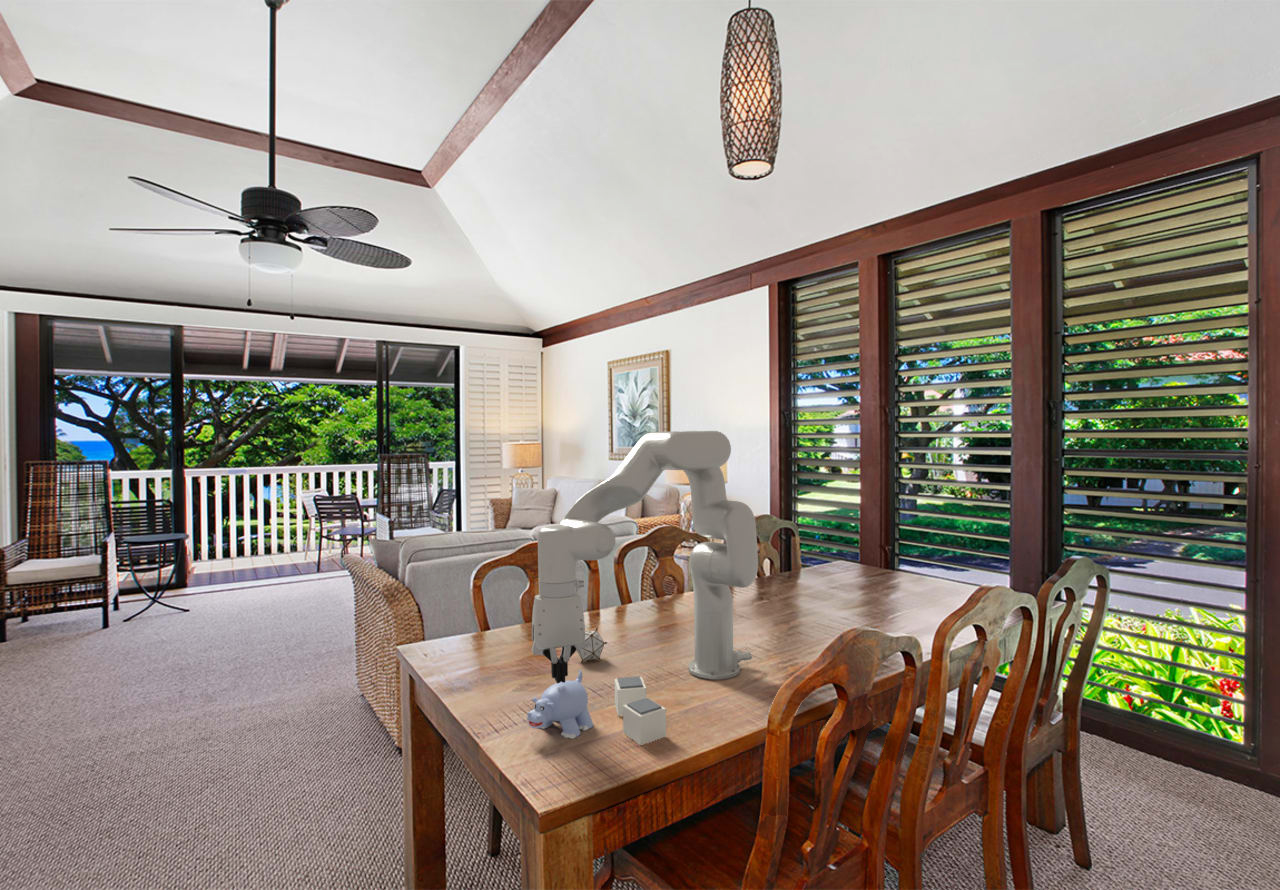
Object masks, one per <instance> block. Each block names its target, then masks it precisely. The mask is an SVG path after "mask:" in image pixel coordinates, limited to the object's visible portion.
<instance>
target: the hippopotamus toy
mask: <svg viewBox="0 0 1280 890" xmlns="http://www.w3.org/2000/svg"><path fill="white" fill-rule="evenodd" d="M578 672H579V673H578V675H577V677H576V679H575V680H565V682H564V683H562V682H560V683H557V682H556V683H554V684H551V685H550V686H549V687H547V689H545V690H544V692H543V693H542V694H541V696H540V699H539V698H537V697H536V696H535V697H533V698H532V701H531V702H533V703H535V704H534V705H533V708H534V709H532V710H530V711H529V712H527V715H526V719H527V724H528V725H529V727H531V728H532V729H534V730H535V729H536V730H537V729H543V730H545V729H548V728H549V727H551V726H552V725H553V723H554V721H555V722H559V724H560V725H561V728H562V732H561V734H560V735H561V736H562V737H563V738H565V739H571V740H574V739H575V738H578V737H580V735H581V730H582V731H583V732H585V731H587V730H589V729H591V728H594V723H593V719H592V717H591V715H590V712H589V709H588V703H589V702H588V701H589V697H588V692H587V690H586V688H585V687H584V685H583V684H582V681H583V670H581V669H578Z"/></svg>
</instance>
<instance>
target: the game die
mask: <svg viewBox="0 0 1280 890" xmlns="http://www.w3.org/2000/svg"><path fill="white" fill-rule="evenodd" d="M598 630H599V629H598V627H596V628H595V630H587V631H586V630H585V643H586V647H585V648H583V649H580V650H578V651H576V652H577V655H578V656H579V657H580V659H581V661H580V664H581V663H582V664H583V663H584V661H591V660H597V659H598V661H599V660H601V661H602V659H601V654H602V652H603V649H604V647H605V645H607V644H608V642H607V641H604V639H603V638H602V636H601V635H600V633H599V632H598Z"/></svg>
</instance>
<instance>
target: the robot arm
mask: <svg viewBox="0 0 1280 890" xmlns="http://www.w3.org/2000/svg"><path fill="white" fill-rule="evenodd" d="M731 450H732V445H731V442H730V440H729V438H728V437H727V436H726V435H725V434H724V433H723V432H721V431H718V430H687V431H683V430H682V431H676V430H675V431H652V432H648V433H645V434H644V435H642V436H641V437H640V439H638V441H637V442H636V444H635V445H634V446H633V447H632V449H631V450H630V451H629V453H628V454H627V455H626V456H625V457H624V459H622V462H621V463H620V464H619V465H618V466H617V468H616V470H615V471H613V473H612V474H611V475H610V477H608V478H607V479H606V480H604V481H602V482H600V483H599V484H598V485H596V486H594V487H593V488H592V489H590V490H589V491H587V492H586V493H584V494H583V495H582V496H581V497H580V498H578V499H577V500H576V501H575V502H574V504H573V505H572V506H571V507H570V508H569V509H568V511H566V513H565V514H564V516H563V517H562V519H561V520H560V522H559V523H558V524H557V525H548V526H543V527H541V528H540V529H539V531H538V533H537V558H538V559H537V565H538V566H537V568H538V571H537V572H538V573H537V574H538V594H536V595H534V600H533V605H532V614H531V615H532V617H531V640H532V642H533V643H532V647H531V652H532V654H533V655H537V656H544V657H545V658H547V659H548V660H549V661H550V663H551V666H550V667H551V678H552V679H554V681H555V682H556V683H560V682H562V683H564V682H565V681H566V677H568V676H569V675H568V673H569V671H568V670H569V669H568V667H569V666H568V663H569V661H570V659H571V657H572V656H573V655H574V654H575V653H576V652H577V651H578V650H580V649H583V648H585V647H586V643H585V631H586V625H585V617H584V616H585V615H584V608H583V607H584V606H583V601H582V597H581V592H579V591H578V590H579V589H581V588H584V587H585V582H584V580H583V579H582V580H580V579H578V577H577V575H578V573H577V562H578V561H598V560H602V559H605V558H607V557H608V556H609V555H611V553H612V552H613V551H614V550H615V546H616V535H615V533H614V531H613V529H612V528H610V527H609V526H607V525H606V524H603V523H601V522H600V521H601V520H602V519H604V518H605V517H607V516H609V515H610V514H612V513H614V512H617V511H619V510H620V511H621V510H624V509H627V508H629V507H632V506H635V505H636V504H638V503H640V502H642V501H643V499H644V498H645V496H646V495H647V493H648V492H650V489H652V487H653V486H654V484H655V483H656V481H657V480H658V479H659V477H660V476H661V475H662V474H663V472H665V471H666V470H668V471H683V473H685V476H686V477H687V479H688V481H689V487H690V488H689V489H690V498H691V499H690V500H691V512H692V513H691V514H692V516H691V517H692V525H693V529H694V531H695V532H696V533H697V534H698V535H699V536H702V537H705V538H709V539H715V540H722V541H725V543H721V542H717V541H716V542H715V541H704V542H699V543H698V544H696V545H695V546H694V547H693V548H692V549H691V552H690V553H689V557H688V558H689V561H688V565H689V570H690V575H691V576H690V577H691V580H692V587H693V588H692V589H693V619H694V620H693V623H694V624H693V625H694V628H693V631H694V633H693V636H694V659H693V660H691V661H690V662H689V664H688V672H689V673H690V674H691V675H693V676H695V677H697V678H701V679H705V680H715V681H716V680H727V679H731V678H734V677H736V676H737V675H739V674H740V672H741V666H740V664H739V663H741V662H742V661H744V662H745V661H750V660H752V653H751V652H750V651H745V652H744V651H743V652H742V650H740V649H739V650H734V601H733V595H732V591H731V588H730V587H733V588H740V589H741V588H742V589H743V588H747V587H749V586H751V585H752V584H753V583H754V582H755V580H756V579H757V574H758V569H759V555H758V537H757V535H758V534H757V525H756V522H757V521H756V518H755V514H754V513H753V510H752V509H751V508H750V506H749V505H748V504H746V503H744V502H742V501H738V500H729V499H728V498H727V492H726V482H725V476H724V474H723V470H722V469H721V467H722V466H724V465H725V464H726V463H727V462H728V460H729V458H730V457H731V453H732V451H731ZM557 648H561V650H560V655H559V657H558V654H557Z"/></svg>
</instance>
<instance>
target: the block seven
mask: <svg viewBox="0 0 1280 890" xmlns="http://www.w3.org/2000/svg"><path fill="white" fill-rule="evenodd" d="M622 719H623V722H622V726H623V727H622V728H623V729H622V730H623V731H622V732H623V733H624V735H625V734H626V735H627V736H626V735H625V736H626V737H628V738H629V737H630V738H631V740H632V739H633V740H634V741H635V743H636V742H637V743H638V744H639V745H638V744H637V743H636V744H637V745H638V746H640V745H642V746H644V745H643V744H645V743H647V744H650V743H652V741H653V742H656V741H658V740H657V739H659V740H661V739H660V738H662V739H664V738H663V737H665V738H667V709H666V708H665V707H664V706H662V705H661V704H659V703H658V702H656V701H654V700H652V699H651V698H649V697H646V698H645V699H642V700H638V701H635V702H631V703H628V704H626V705H623V716H622ZM630 738H629V739H630ZM633 740H632V741H633ZM655 740H656V741H655ZM634 741H633V742H634ZM649 742H650V743H649ZM645 745H646V744H645Z"/></svg>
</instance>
